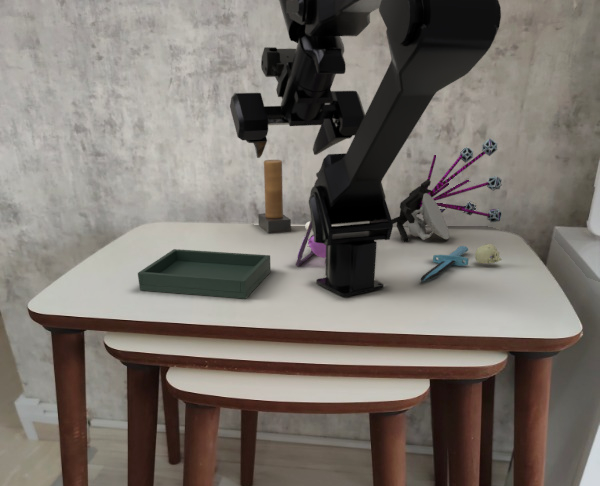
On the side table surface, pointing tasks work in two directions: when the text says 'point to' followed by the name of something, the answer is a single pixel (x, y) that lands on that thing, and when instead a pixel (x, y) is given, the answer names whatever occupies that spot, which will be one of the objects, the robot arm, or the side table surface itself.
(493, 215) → the decorative piece
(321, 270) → the side table surface
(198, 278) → the tray
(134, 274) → the side table surface
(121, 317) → the side table surface
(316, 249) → the purple triangular frame ornament
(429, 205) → the miniature
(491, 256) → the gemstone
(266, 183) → the wooden peg on stand
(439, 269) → the knife
